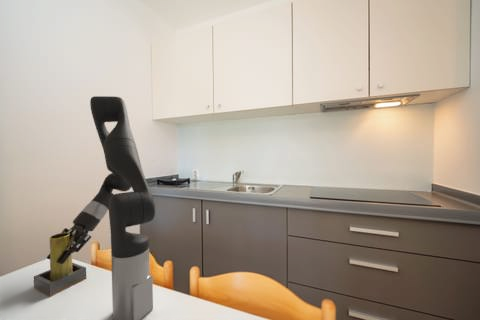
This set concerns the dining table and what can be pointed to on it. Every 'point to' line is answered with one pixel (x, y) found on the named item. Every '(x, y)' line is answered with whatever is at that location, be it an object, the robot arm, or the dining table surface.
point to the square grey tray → (59, 280)
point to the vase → (56, 249)
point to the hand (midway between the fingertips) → (54, 261)
